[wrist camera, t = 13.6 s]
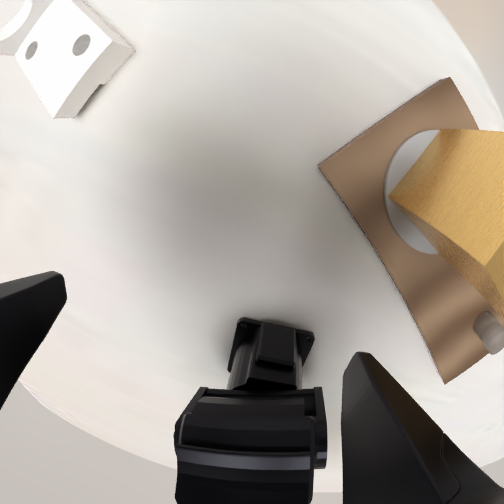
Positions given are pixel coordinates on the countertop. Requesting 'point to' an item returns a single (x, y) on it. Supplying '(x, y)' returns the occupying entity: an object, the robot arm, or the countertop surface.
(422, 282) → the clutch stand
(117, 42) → the bracket
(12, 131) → the countertop surface
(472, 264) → the gold square tube
